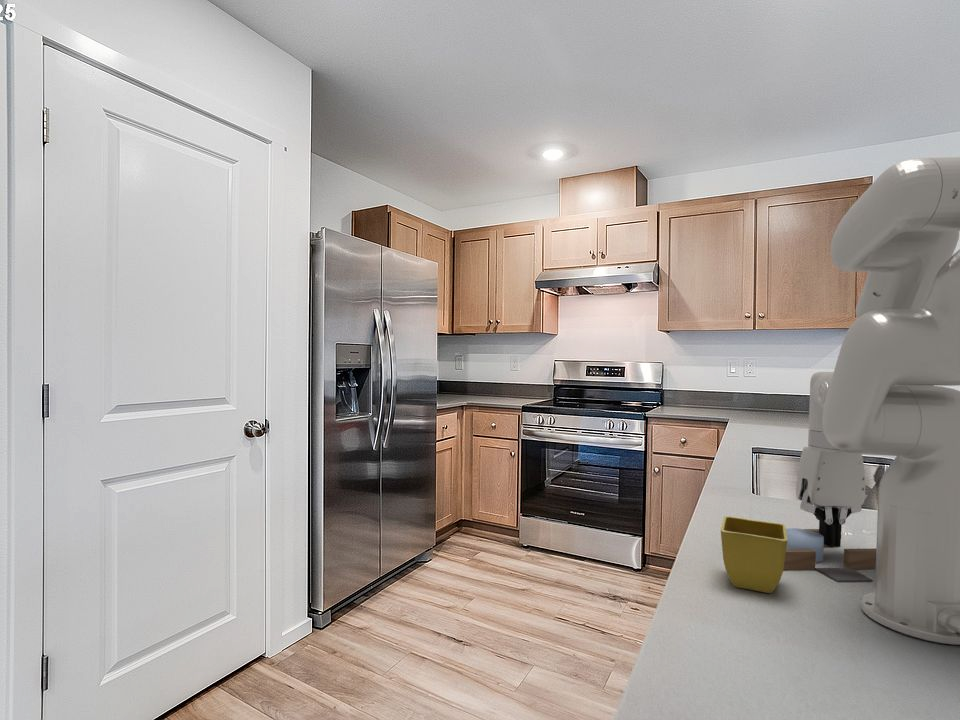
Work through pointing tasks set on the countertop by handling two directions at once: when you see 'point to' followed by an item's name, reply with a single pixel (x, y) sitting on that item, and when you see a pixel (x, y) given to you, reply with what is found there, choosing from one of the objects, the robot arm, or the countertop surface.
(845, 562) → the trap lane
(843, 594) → the countertop surface
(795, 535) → the pale blue rounded cube
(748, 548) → the flower pot
